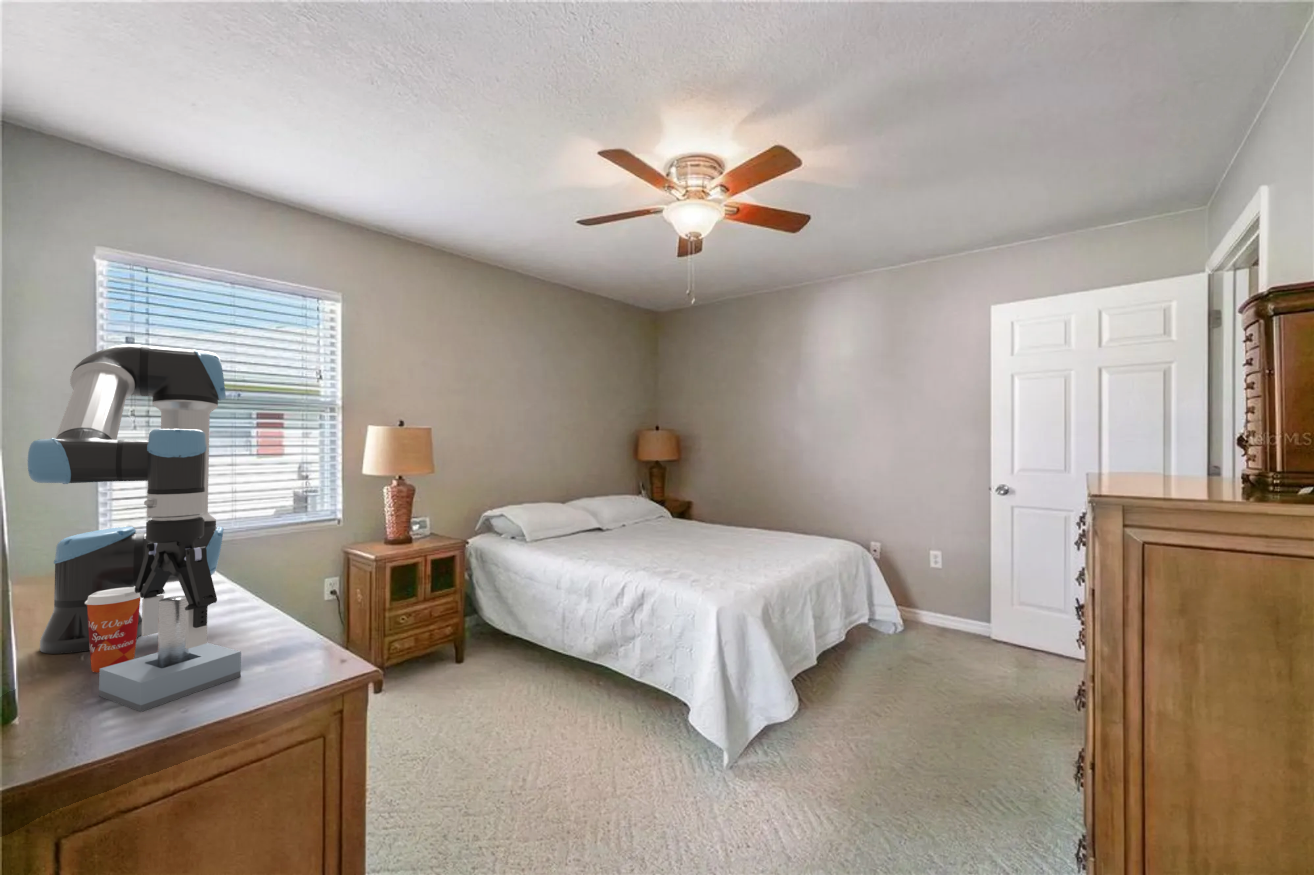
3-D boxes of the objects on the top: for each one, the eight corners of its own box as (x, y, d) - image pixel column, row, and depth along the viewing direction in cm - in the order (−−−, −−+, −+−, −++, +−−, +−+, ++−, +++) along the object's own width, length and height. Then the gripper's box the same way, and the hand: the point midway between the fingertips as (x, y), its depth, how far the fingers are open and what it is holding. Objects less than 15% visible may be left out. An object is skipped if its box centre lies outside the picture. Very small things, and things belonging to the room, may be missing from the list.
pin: (152, 682, 91) (153, 600, 91) (180, 673, 95) (182, 594, 95) (164, 686, 89) (166, 603, 90) (193, 677, 93) (194, 597, 93)
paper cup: (74, 678, 95) (76, 599, 95) (94, 662, 102) (96, 589, 102) (133, 670, 98) (134, 594, 99) (149, 655, 105) (150, 584, 105)
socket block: (98, 695, 88) (99, 668, 88) (199, 664, 101) (199, 640, 101) (140, 711, 83) (141, 682, 83) (240, 676, 96) (241, 651, 96)
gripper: (110, 515, 94) (108, 635, 94) (191, 524, 84) (188, 659, 84) (163, 510, 101) (161, 622, 101) (243, 519, 91) (241, 643, 91)
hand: (173, 639), depth 92 cm, fingers open, 13 cm apart
